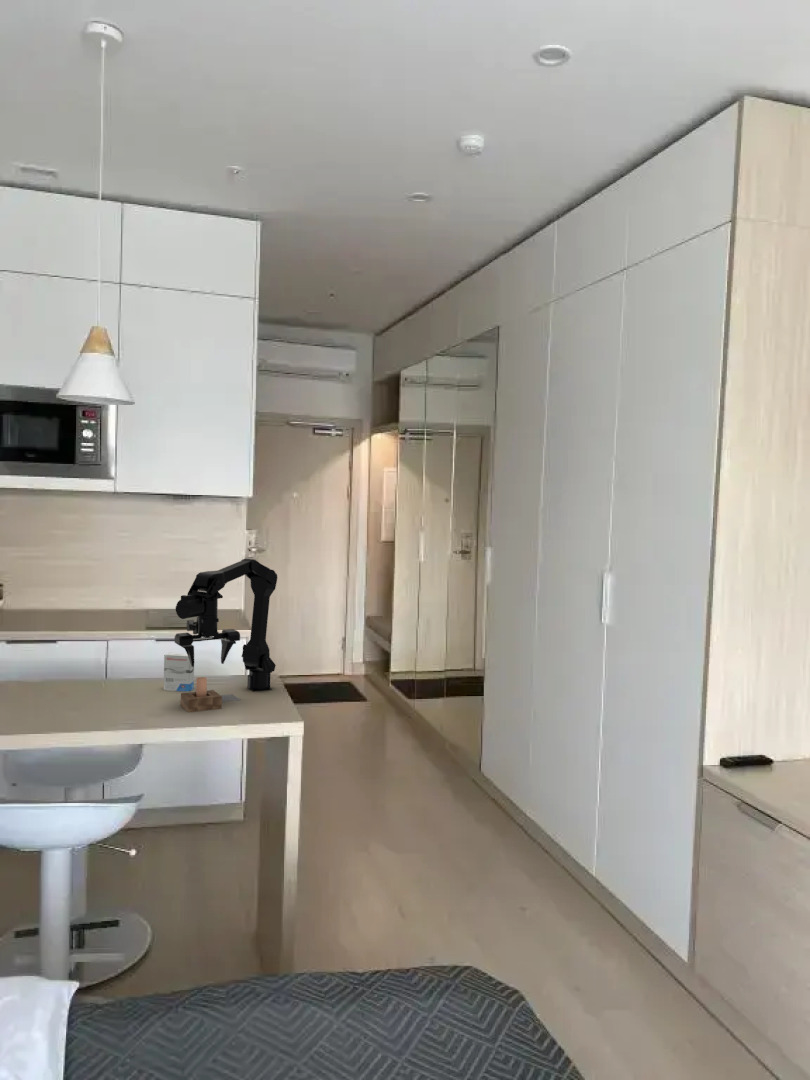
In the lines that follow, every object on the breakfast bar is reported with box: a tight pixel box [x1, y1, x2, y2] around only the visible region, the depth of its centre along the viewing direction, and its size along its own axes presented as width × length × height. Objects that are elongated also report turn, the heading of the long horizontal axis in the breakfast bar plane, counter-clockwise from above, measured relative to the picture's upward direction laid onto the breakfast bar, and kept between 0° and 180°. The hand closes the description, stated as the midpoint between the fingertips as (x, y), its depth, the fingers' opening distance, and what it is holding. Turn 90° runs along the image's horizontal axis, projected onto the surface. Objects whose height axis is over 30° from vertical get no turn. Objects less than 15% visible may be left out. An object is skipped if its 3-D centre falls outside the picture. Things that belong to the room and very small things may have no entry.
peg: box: [195, 676, 208, 697], centre depth 249 cm, size 3×3×9 cm
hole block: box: [180, 689, 223, 713], centre depth 250 cm, size 10×8×4 cm
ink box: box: [163, 651, 195, 692], centre depth 269 cm, size 8×5×12 cm, turn 84°
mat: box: [220, 693, 241, 703], centre depth 261 cm, size 8×8×1 cm
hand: (207, 665), depth 253 cm, fingers open, 9 cm apart
